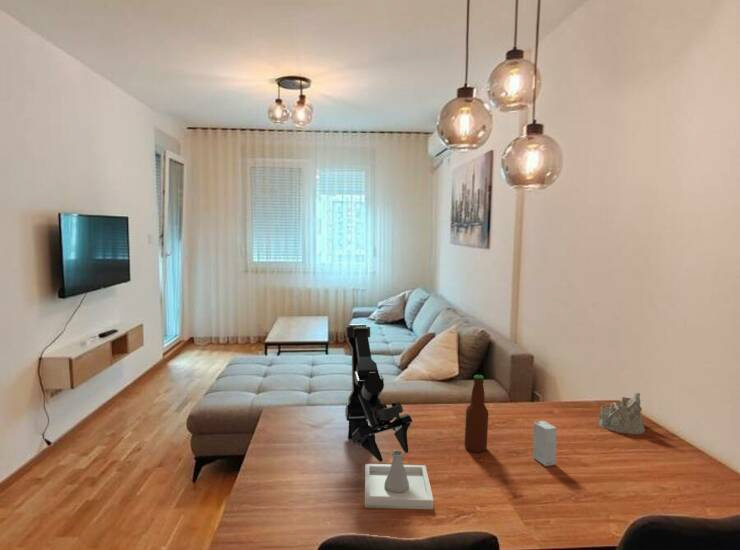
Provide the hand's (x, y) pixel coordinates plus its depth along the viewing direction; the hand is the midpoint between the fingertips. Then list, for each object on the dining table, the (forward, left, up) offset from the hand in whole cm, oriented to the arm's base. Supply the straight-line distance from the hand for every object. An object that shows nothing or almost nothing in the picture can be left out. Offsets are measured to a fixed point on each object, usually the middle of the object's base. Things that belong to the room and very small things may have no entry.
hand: (394, 456), depth 132 cm
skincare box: (+49, +17, -9) cm, 52 cm away
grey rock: (+90, +46, -9) cm, 101 cm away
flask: (+1, -1, -8) cm, 8 cm away
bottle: (+29, +25, -9) cm, 39 cm away
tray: (+1, -1, -9) cm, 9 cm away
